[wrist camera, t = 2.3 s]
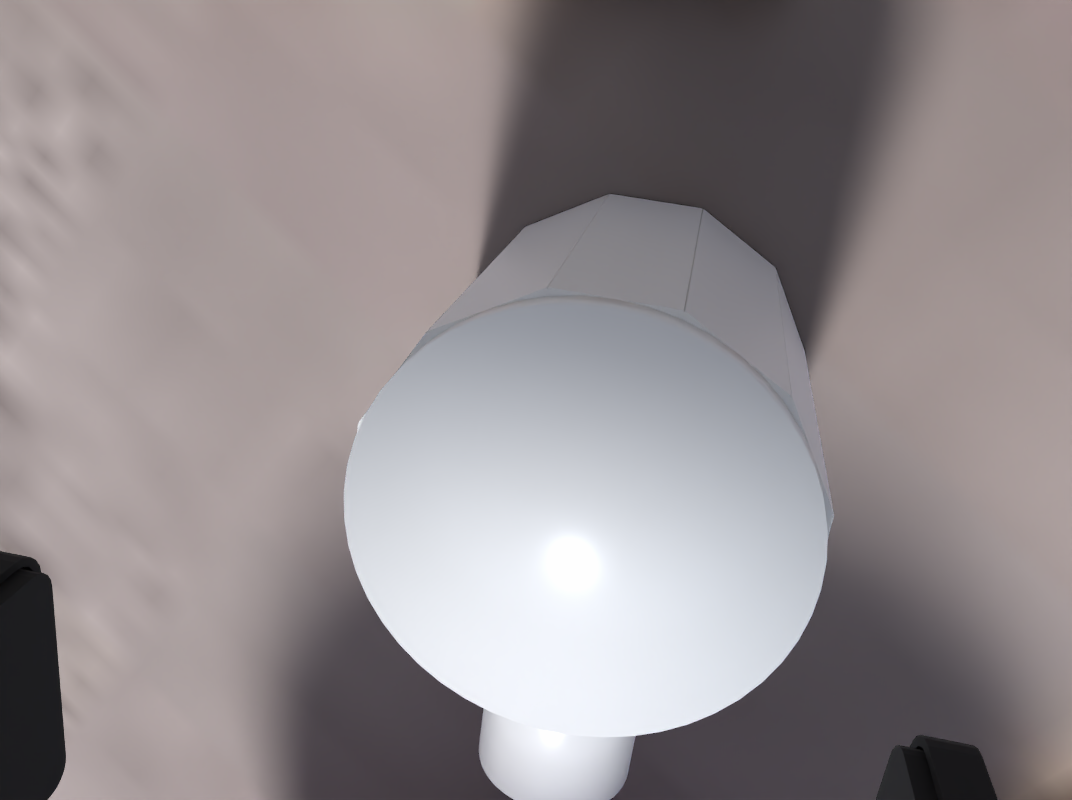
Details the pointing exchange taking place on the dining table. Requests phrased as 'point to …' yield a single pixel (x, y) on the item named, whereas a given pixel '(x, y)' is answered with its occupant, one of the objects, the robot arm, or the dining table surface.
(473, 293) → the elbow
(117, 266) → the dining table surface
